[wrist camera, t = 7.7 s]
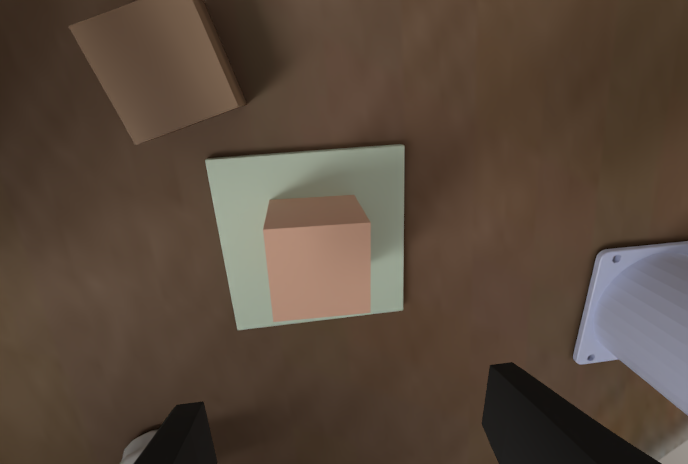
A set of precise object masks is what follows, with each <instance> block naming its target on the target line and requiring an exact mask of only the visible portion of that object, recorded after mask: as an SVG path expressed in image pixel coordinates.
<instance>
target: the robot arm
mask: <svg viewBox="0 0 688 464" xmlns="http://www.w3.org/2000/svg"><path fill="white" fill-rule="evenodd" d="M614 256H615V257H614ZM613 257H614V258H613ZM573 359H574V361H575V362H576V363H578V364H589V363H596V362H603V361H611V360H618V359H619V360H620V361H622V362H623V363H624V364H625V365H626V366H628V367H629V368H630V369H631V370H633V371H634V372H635V373H636V374H637V375H639V376H640V377H641V378H642V379H644V380H645V381H646V382H647V383H648V384H650V385H651V386H652V387H653V388H655V389H656V390H657V391H658V392H659V393H661V394H662V395H663V396H664V397H666V398H667V399H668V400H669V401H670V402H672V403H673V404H674V405H675V406H677V407H678V408H679V409H680V410H681V411H683V412H684V413H685V414H686V415H688V241H683V242H673V243H663V244H653V245H643V246H633V247H623V248H613V249H605V250H602V251H601V252H599V253H598V254H597V257H596V260H595V264H594V269H593V273H592V277H591V281H590V286H589V290H588V294H587V298H586V303H585V307H584V311H583V315H582V320H581V324H580V328H579V332H578V337H577V341H576V345H575V349H574V354H573ZM482 425H483V428H484V430H485V433H486V435H487V437H488V440H489V442H490V444H491V447H492V449H493V451H494V453H495V456H496V458H497V460H498V462H499V464H661V463H660V462H658V461H657V460H655V459H653V458H652V457H650V456H649V455H647V454H645V453H644V452H642V451H641V450H639V449H638V448H636V447H634V446H633V445H631V444H630V443H628V442H627V441H625V440H624V439H622V438H621V437H619V436H618V435H616V434H615V433H613V432H612V431H610V430H609V429H607V428H606V427H604V426H603V425H601V424H600V423H598V422H597V421H595V420H594V419H592V418H591V417H589V416H588V415H587V414H585V413H584V412H582V411H581V410H579V409H578V408H576V407H575V406H574V405H572V404H571V403H569V402H568V401H567V400H565V399H564V398H562V397H561V396H559V395H558V394H557V393H555V392H554V391H552V390H551V389H550V388H548V387H547V386H545V385H544V384H543V383H541V382H540V381H538V380H537V379H536V378H534V377H533V376H531V375H530V374H528V373H527V372H526V371H524V370H523V369H521V368H520V367H518V366H517V365H515V364H514V363H512V362H511V363H503V364H495V365H490V369H489V376H488V383H487V390H486V397H485V405H484V412H483V419H482ZM134 464H217V459H216V454H215V450H214V446H213V441H212V437H211V433H210V428H209V424H208V419H207V415H206V411H205V406H204V402H196V403H188V404H180V405H176V406H175V408H174V409H173V410H172V411H171V413H170V414H169V415H168V417H167V418H166V420H165V421H164V422H163V424H162V425H161V426H160V428H159V429H158V431H157V432H156V433H155V435H154V436H153V438H152V439H151V440H150V442H149V443H148V445H147V446H146V447H145V449H144V450H143V451H142V453H141V454H140V455H139V457H138V458H137V460H136V461H135V462H134Z"/></svg>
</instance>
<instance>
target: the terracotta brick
mask: <svg viewBox="0 0 688 464" xmlns="http://www.w3.org/2000/svg"><path fill="white" fill-rule="evenodd" d="M263 234H264V243H265V252H266V261H267V270H268V279H269V288H270V297H271V306H272V315H273V322H279V321H290V320H300V319H311V318H321V317H332V316H342V315H353V314H363V313H371V222H370V220H369V219H368V217H367V215H366V214H365V212H364V210H363V209H362V207H361V205H360V204H359V202H358V200H357V199H356V197H355V195H342V196H325V197H308V198H291V199H274V200H269V204H268V209H267V214H266V218H265V223H264V227H263Z"/></svg>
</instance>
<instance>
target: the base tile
mask: <svg viewBox="0 0 688 464" xmlns="http://www.w3.org/2000/svg"><path fill="white" fill-rule="evenodd" d="M404 149H405V146H404V145H402V144H395V145H382V146H368V147H354V148H341V149H327V150H314V151H300V152H287V153H273V154H259V155H246V156H232V157H219V158H207V159H206V160H205V163H206V168H207V173H208V179H209V184H210V189H211V194H212V200H213V205H214V210H215V215H216V221H217V226H218V231H219V236H220V241H221V247H222V252H223V257H224V262H225V268H226V273H227V278H228V283H229V289H230V294H231V299H232V304H233V309H234V315H235V320H236V325H237V330H244V329H253V328H261V327H269V326H278V325H286V324H294V323H303V322H311V321H319V320H328V319H336V318H344V317H352V316H361V315H369V314H377V313H386V312H394V311H402V310H403V259H404ZM342 195H355V197H356V199H357V200H358V202H359V204H360V205H361V207H362V209H363V210H364V212H365V214H366V215H367V217H368V219H369V220H370V222H371V313H363V314H353V315H342V316H332V317H321V318H311V319H300V320H290V321H279V322H273V315H272V306H271V297H270V288H269V279H268V270H267V261H266V252H265V243H264V234H263V227H264V223H265V218H266V214H267V209H268V204H269V200H274V199H291V198H308V197H325V196H342Z"/></svg>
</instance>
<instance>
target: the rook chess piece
mask: <svg viewBox="0 0 688 464" xmlns="http://www.w3.org/2000/svg"><path fill="white" fill-rule="evenodd" d="M157 431H158V430H151V431H149V432H147V433H145V434H143V435H141V436H139V437H137V438H136V439H134V440H132V441H131V443H130V444H129V445H128V446H127V447H126V448H125V449H124V453H123V457H122V461H121V462H120V463H119V464H134V462H135V461H136V460H137V458H138V457H139V455H140V454H141V453H142V451H143V450H144V449H145V447H146V446H147V445H148V443H149V442H150V440H151V439H152V438H153V436H154V435H155V433H156V432H157Z"/></svg>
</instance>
